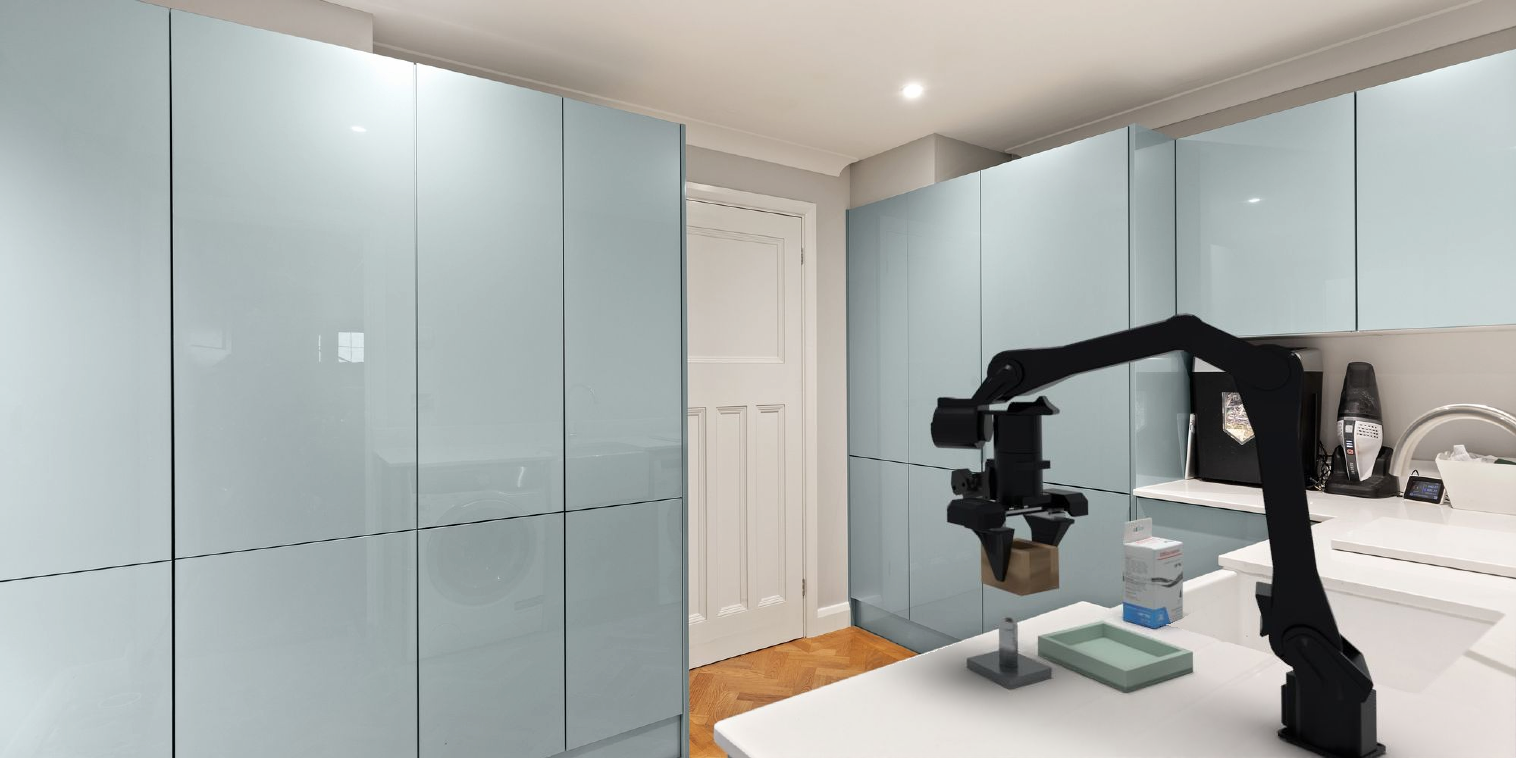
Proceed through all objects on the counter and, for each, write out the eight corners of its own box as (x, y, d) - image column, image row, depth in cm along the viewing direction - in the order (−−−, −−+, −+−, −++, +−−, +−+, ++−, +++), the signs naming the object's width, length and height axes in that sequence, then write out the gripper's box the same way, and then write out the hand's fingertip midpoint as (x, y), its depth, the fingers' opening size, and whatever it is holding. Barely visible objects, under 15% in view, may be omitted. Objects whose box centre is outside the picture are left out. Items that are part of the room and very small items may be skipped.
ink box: (1155, 630, 100) (1154, 528, 100) (1121, 620, 105) (1120, 522, 105) (1185, 618, 105) (1184, 521, 105) (1151, 609, 109) (1150, 516, 109)
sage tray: (1193, 671, 86) (1192, 651, 86) (1126, 692, 80) (1125, 671, 80) (1102, 638, 97) (1102, 620, 97) (1037, 654, 92) (1037, 635, 92)
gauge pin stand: (1051, 677, 85) (1051, 620, 85) (1009, 689, 81) (1009, 630, 81) (1007, 657, 91) (1007, 604, 91) (966, 667, 88) (966, 612, 88)
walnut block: (1059, 588, 85) (1058, 547, 85) (1021, 596, 82) (1020, 553, 82) (1018, 575, 91) (1017, 537, 91) (981, 582, 88) (980, 543, 88)
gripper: (1020, 443, 98) (1022, 554, 98) (915, 450, 89) (918, 572, 89) (1090, 449, 88) (1092, 573, 88) (979, 458, 79) (982, 595, 79)
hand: (1019, 577), depth 86 cm, fingers closed on walnut block, 6 cm apart
